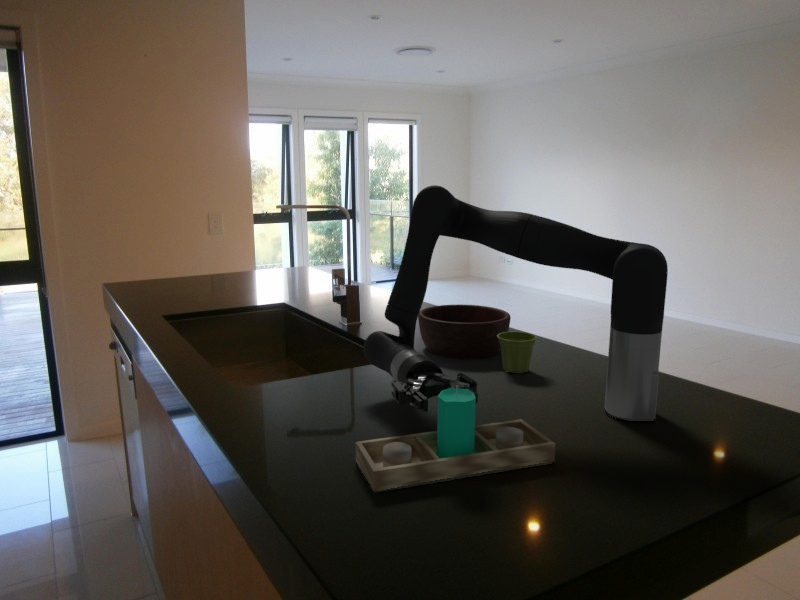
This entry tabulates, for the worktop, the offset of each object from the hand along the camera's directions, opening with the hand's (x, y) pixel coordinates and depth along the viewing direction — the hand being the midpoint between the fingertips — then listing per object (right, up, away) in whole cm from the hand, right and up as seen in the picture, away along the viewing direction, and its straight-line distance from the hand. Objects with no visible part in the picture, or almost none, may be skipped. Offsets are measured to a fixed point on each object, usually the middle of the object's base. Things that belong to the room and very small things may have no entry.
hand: (450, 403), depth 95 cm
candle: (+1, -9, 0) cm, 9 cm away
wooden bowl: (+9, +3, +67) cm, 68 cm away
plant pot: (+20, -1, +48) cm, 52 cm away
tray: (+1, -10, 0) cm, 10 cm away
